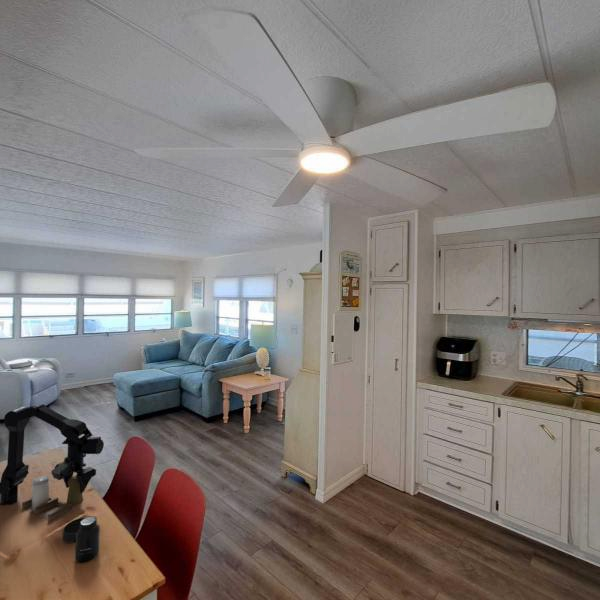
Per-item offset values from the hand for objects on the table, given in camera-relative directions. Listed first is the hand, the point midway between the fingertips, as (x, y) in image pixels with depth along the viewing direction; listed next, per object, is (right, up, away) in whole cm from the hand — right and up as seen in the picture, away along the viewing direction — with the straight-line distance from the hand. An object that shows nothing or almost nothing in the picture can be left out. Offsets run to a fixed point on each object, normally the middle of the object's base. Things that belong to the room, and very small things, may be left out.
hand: (74, 490), depth 140 cm
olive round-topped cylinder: (0, -6, 0) cm, 6 cm away
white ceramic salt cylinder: (-12, -5, -4) cm, 13 cm away
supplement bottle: (+24, -6, -28) cm, 37 cm away
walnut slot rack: (-8, -5, -5) cm, 11 cm away
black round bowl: (+14, -6, -18) cm, 24 cm away
